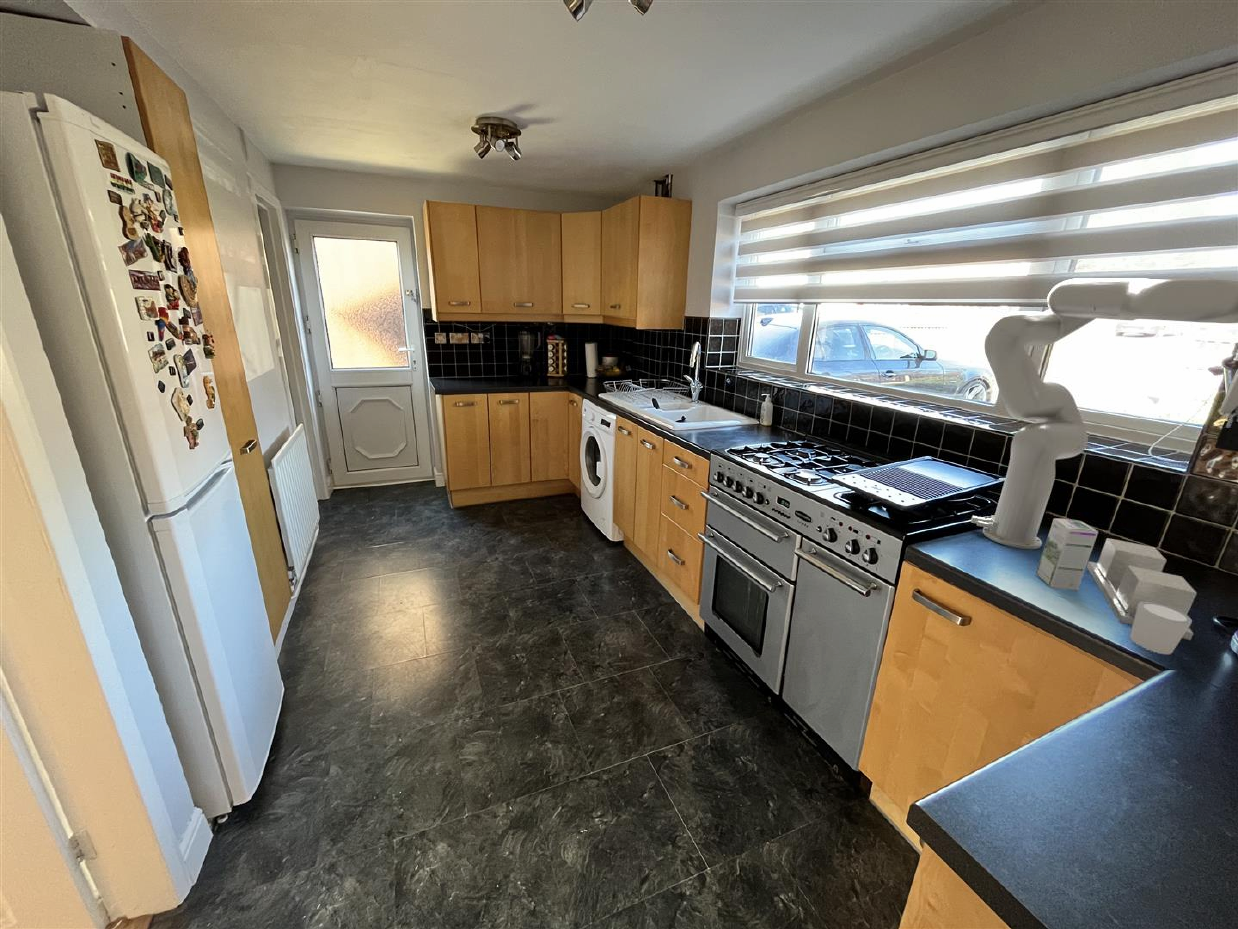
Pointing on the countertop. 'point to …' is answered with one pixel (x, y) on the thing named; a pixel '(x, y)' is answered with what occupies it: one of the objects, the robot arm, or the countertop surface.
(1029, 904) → the countertop surface
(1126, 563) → the board
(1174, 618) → the grey mug
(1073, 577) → the syrup box
